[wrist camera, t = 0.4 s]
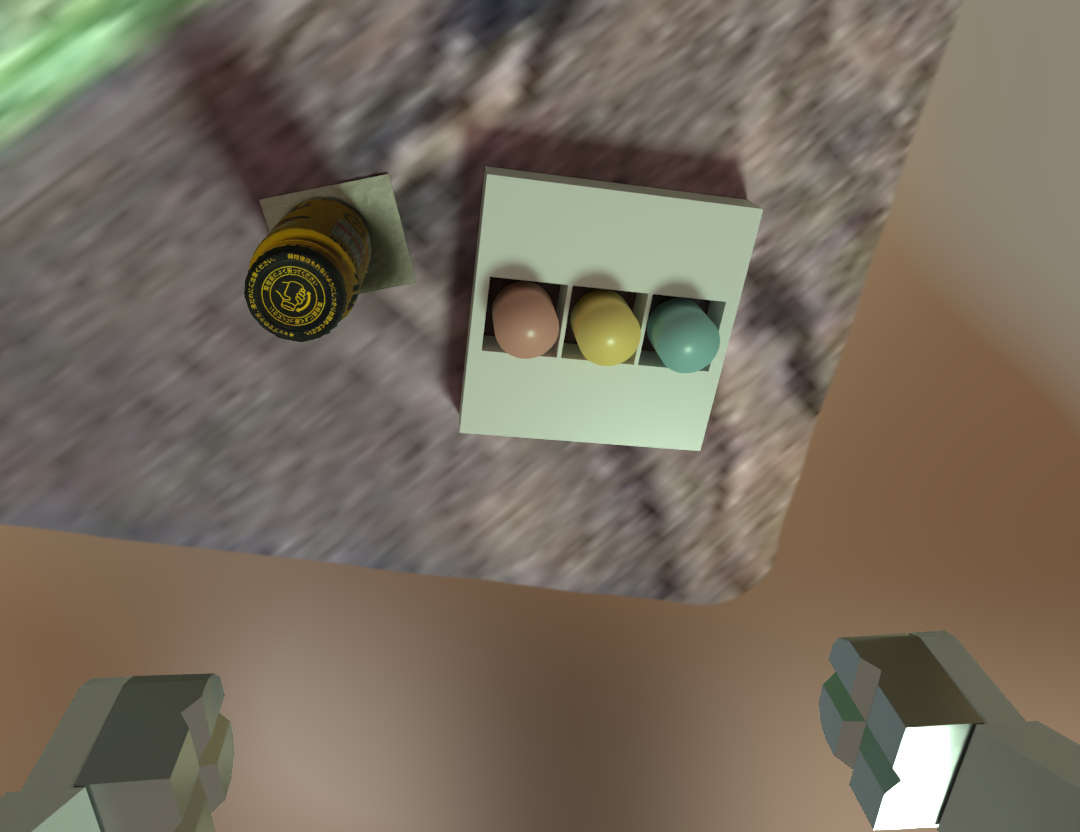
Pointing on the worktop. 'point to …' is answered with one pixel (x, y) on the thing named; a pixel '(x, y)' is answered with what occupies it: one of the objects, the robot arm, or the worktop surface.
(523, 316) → the salmon brown ball
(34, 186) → the worktop surface
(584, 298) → the button mustard
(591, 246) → the panel
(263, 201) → the condiment
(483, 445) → the worktop surface
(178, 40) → the worktop surface
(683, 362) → the button teal
